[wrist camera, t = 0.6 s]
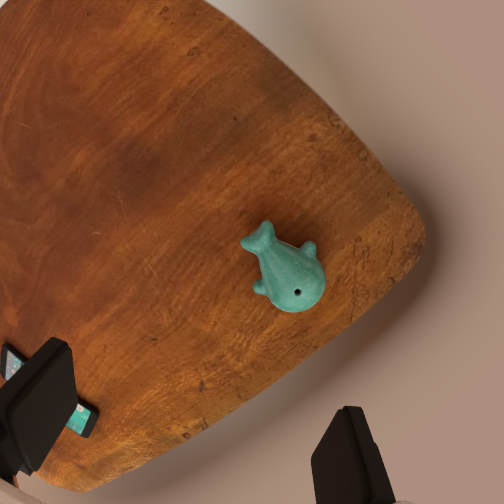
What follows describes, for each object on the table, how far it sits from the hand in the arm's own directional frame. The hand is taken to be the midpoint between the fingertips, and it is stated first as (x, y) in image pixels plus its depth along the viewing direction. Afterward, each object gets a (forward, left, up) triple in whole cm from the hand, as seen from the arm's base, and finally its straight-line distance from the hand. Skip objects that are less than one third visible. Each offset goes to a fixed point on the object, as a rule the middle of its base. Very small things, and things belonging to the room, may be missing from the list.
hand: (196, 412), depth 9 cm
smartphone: (+22, -20, -17) cm, 34 cm away
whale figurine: (-1, +4, -17) cm, 17 cm away
